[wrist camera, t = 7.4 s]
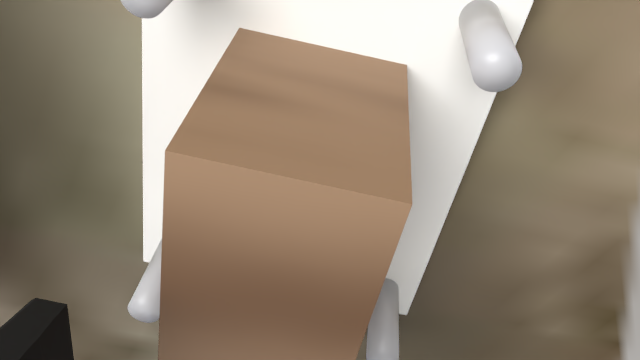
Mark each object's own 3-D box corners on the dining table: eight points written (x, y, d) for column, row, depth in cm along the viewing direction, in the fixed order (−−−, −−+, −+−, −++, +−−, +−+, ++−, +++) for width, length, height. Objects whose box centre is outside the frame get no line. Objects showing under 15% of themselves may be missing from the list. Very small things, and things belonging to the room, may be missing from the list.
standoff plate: (406, 294, 21) (408, 388, 18) (153, 242, 21) (109, 327, 18) (532, -28, 14) (571, 30, 11) (155, -110, 14) (85, -74, 11)
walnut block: (349, 254, 19) (333, 417, 14) (217, 226, 19) (157, 381, 14) (407, 64, 15) (412, 204, 10) (239, 27, 15) (165, 150, 10)
